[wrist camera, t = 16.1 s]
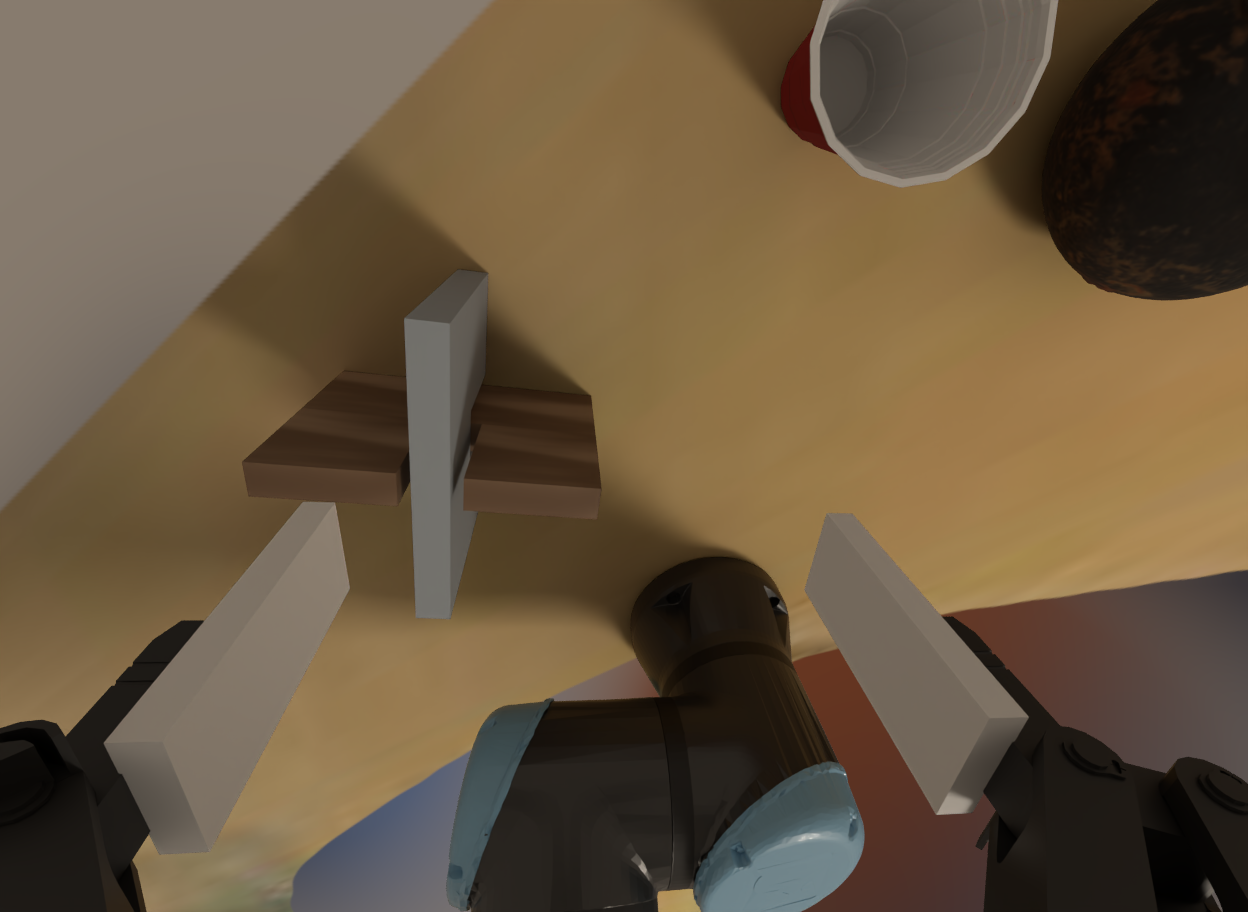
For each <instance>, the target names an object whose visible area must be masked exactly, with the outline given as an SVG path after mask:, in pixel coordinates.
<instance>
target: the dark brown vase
mask: <svg viewBox="0 0 1248 912" xmlns="http://www.w3.org/2000/svg"><path fill="white" fill-rule="evenodd" d="M1042 177H1043V178H1042V202H1043V209H1044V215H1045V219H1046V223H1047V226H1048V229H1049V232H1050V234H1051V237H1052V239H1053V241H1054V244H1055V245H1056V247H1057V249H1058V250H1059V252H1060V253H1061V254H1062V256H1063V257H1064V259H1065V260H1066V261H1067V262H1068V264H1069V265H1071V267H1072V268H1073V269H1075V270H1076V271H1077V272H1078V273H1079V274H1080V275H1081V276H1082V277H1083V279H1084V280H1086V282H1087V283H1089V284H1093V285H1095V286H1097V287H1098V288H1099V289H1102V290H1105V291H1107V292H1114V293H1117V294H1121V295H1125V296H1129V297H1135V298H1141V299H1150V300H1182V299H1194V298H1199V297H1206V296H1211V295H1215V294H1219V293H1223V292H1227V291H1230V290H1234V289H1238V288H1241V287H1244V286H1246V285H1248V0H1158V1H1157V2H1155V3H1154V4H1153V5H1152V6H1151V7H1149V8H1148V9H1147V10H1146V11H1145V12H1143V13H1142V14H1141V15H1140V16H1139V17H1138V18H1137V19H1136V20H1135V21H1133V22H1132V23H1131V24H1130V25H1129V26H1128V27H1127V28H1126V29H1125V30H1124V31H1123V32H1122V33H1121V34H1120V35H1119V37H1118V38H1116V39H1115V40H1114V42H1113V43H1112V44H1111V45H1110V46H1109V47H1108V48H1107V49H1106V50H1105V52H1104V53H1103V54H1102V55H1101V56H1100V57H1099V59H1098V60H1097V61H1096V62H1095V63H1094V64H1093V66H1092V67H1091V69H1090V70H1089V71H1088V73H1087V74H1086V75H1085V77H1084V78H1083V80H1082V81H1081V83H1080V84H1079V86H1078V87H1077V89H1076V90H1075V92H1074V93H1073V95H1072V97H1071V98H1070V100H1069V102H1068V104H1067V106H1066V108H1065V110H1064V111H1063V113H1062V115H1061V117H1060V119H1059V122H1058V124H1057V126H1056V128H1055V131H1054V133H1053V136H1052V139H1051V141H1050V145H1049V147H1048V151H1047V155H1046V159H1045V164H1044V170H1043V176H1042Z"/></svg>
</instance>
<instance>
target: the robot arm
mask: <svg viewBox="0 0 1248 912" xmlns="http://www.w3.org/2000/svg"><path fill="white" fill-rule="evenodd" d="M349 589H350V586H349V580H348V574H347V568H346V563H345V557H344V551H343V545H342V539H341V534H340V528H339V522H338V516H337V510H336V504H335V502H302V504H301V505H300V506H299V507H298V508H297V510H296V511H295V512H294V513H293V514H292V516H291V517H290V518H289V519H288V520H287V522H286V523H285V524H284V525H283V527H282V528H281V529H280V530H279V531H278V533H277V534H276V535H275V536H274V537H273V539H272V540H271V541H270V542H269V543H268V545H267V546H266V547H265V548H264V550H263V551H262V552H261V553H260V554H259V556H258V557H257V558H256V559H255V560H254V562H253V563H252V564H251V565H250V566H249V568H248V569H247V570H246V571H245V573H244V574H243V575H242V576H241V577H240V579H239V580H238V581H237V582H236V583H235V585H234V586H233V587H232V588H231V589H230V591H229V592H228V593H227V594H226V596H225V597H224V598H223V599H222V600H221V602H220V603H219V604H218V605H217V606H216V608H215V609H214V610H213V611H212V612H211V614H210V615H209V616H208V617H207V618H206V620H205V621H180V622H179V623H178V624H176V625H175V626H173V627H172V628H170V629H169V630H167V631H166V632H164V633H163V634H161V635H160V636H158V637H157V638H155V639H154V640H153V641H152V642H151V643H150V644H149V645H148V646H147V647H146V648H145V649H144V651H143V652H142V653H141V654H140V655H139V656H138V657H137V658H136V659H135V660H134V662H133V665H132V667H128V668H127V669H126V670H125V672H124V673H123V674H122V675H121V676H120V677H119V678H118V679H117V680H116V684H115V686H111V687H110V688H109V689H108V690H107V691H106V693H105V694H104V695H103V696H102V697H101V698H100V699H99V700H98V701H97V702H96V704H95V705H94V706H93V707H92V708H91V709H90V710H89V711H88V712H87V714H86V715H85V716H84V717H83V718H82V719H81V720H80V721H79V722H78V723H77V725H76V726H75V727H74V728H73V729H72V730H71V731H70V732H69V733H68V735H67V736H66V737H65V736H64V734H63V732H62V731H61V729H60V728H59V726H58V725H57V724H56V723H52V722H49V721H45V720H35V721H25V722H19V723H15V724H12V725H9V726H6V727H3V728H0V912H146V907H145V903H144V898H143V894H142V889H141V884H140V880H139V875H138V871H137V868H136V866H135V865H134V863H133V861H132V859H133V858H134V856H135V855H136V853H137V852H138V850H139V848H140V847H141V845H142V844H143V842H144V841H145V839H146V838H147V836H148V834H149V835H150V837H151V839H152V841H153V843H154V845H155V847H156V849H157V851H158V853H159V854H179V853H198V852H210V850H211V848H212V846H213V845H214V843H215V841H216V839H217V837H218V835H219V833H220V831H221V830H222V828H223V826H224V824H225V822H226V820H227V818H228V816H229V815H230V813H231V811H232V809H233V807H234V805H235V803H236V801H237V800H238V798H239V796H240V794H241V792H242V790H243V788H244V786H245V785H246V783H247V781H248V779H249V777H250V775H251V773H252V771H253V770H254V768H255V766H256V764H257V762H258V760H259V758H260V756H261V755H262V753H263V751H264V749H265V747H266V745H267V743H268V741H269V740H270V738H271V736H272V734H273V732H274V730H275V728H276V726H277V725H278V723H279V721H280V719H281V717H282V715H283V713H284V711H285V710H286V708H287V706H288V704H289V702H290V700H291V698H292V696H293V695H294V693H295V691H296V689H297V687H298V685H299V683H300V681H301V680H302V678H303V676H304V674H305V672H306V670H307V668H308V666H309V665H310V663H311V661H312V659H313V657H314V655H315V653H316V651H317V649H318V648H319V646H320V644H321V642H322V640H323V638H324V636H325V634H326V633H327V631H328V629H329V627H330V625H331V623H332V621H333V619H334V618H335V616H336V614H337V612H338V610H339V608H340V606H341V604H342V603H343V601H344V599H345V597H346V595H347V593H348V591H349ZM805 592H806V594H807V595H808V597H809V599H810V600H811V602H812V604H813V606H814V607H815V609H816V611H817V612H818V614H819V616H820V618H821V619H822V621H823V623H824V624H825V626H826V628H827V629H828V631H829V633H830V635H831V636H832V638H833V640H834V641H835V643H836V645H837V646H838V648H839V650H840V651H841V653H842V655H843V657H844V658H845V660H846V662H847V663H848V665H849V667H850V668H851V670H852V672H853V674H854V675H855V677H856V679H857V680H858V682H859V684H860V686H861V687H862V689H863V691H864V692H865V694H866V696H867V697H868V699H869V701H870V702H871V704H872V706H873V708H874V709H875V711H876V713H877V715H878V716H879V718H880V719H881V721H882V723H883V725H884V726H885V728H886V730H887V731H888V733H889V735H890V736H891V738H892V740H893V742H894V743H895V745H896V747H897V749H898V750H899V752H900V754H901V755H902V757H903V759H904V760H905V762H906V764H907V766H908V767H909V769H910V771H911V772H912V774H913V776H914V777H915V779H916V781H917V783H918V784H919V786H920V788H921V789H922V791H923V793H924V794H925V796H926V798H927V800H928V801H929V803H930V805H931V806H932V808H933V810H934V812H935V813H936V815H939V814H960V813H972V812H973V810H974V809H975V807H976V805H977V804H978V802H979V800H980V798H981V797H982V795H983V794H985V795H986V796H987V798H988V799H989V801H990V802H991V804H992V805H993V807H994V808H995V810H996V811H995V813H994V815H993V816H992V818H991V819H990V821H989V823H988V824H987V826H986V828H985V829H984V831H983V832H982V834H981V835H980V837H979V839H978V842H977V844H976V847H977V848H979V849H981V850H982V849H983V848H984V846H985V844H986V843H987V842H988V841H989V844H988V858H987V872H986V885H985V899H984V912H1221V910H1220V909H1219V907H1218V905H1217V904H1216V902H1215V900H1214V898H1213V896H1212V893H1213V892H1214V891H1215V893H1216V895H1217V897H1218V899H1219V901H1220V904H1221V907H1222V909H1223V912H1248V784H1247V783H1246V782H1245V781H1244V780H1242V779H1241V778H1239V777H1238V776H1236V775H1235V774H1232V773H1231V772H1229V771H1227V770H1225V769H1224V768H1222V767H1220V766H1217V765H1215V764H1212V763H1210V762H1208V761H1205V760H1202V759H1197V758H1191V757H1185V758H1180V759H1178V760H1177V761H1176V762H1175V763H1174V764H1173V766H1172V767H1171V768H1170V769H1169V771H1168V772H1167V773H1163V772H1159V771H1155V770H1151V769H1147V768H1142V767H1139V766H1135V765H1131V764H1127V763H1124V762H1123V761H1122V760H1121V758H1120V757H1119V756H1118V755H1117V754H1116V753H1115V752H1113V751H1112V750H1111V749H1110V748H1108V747H1107V746H1106V745H1105V744H1103V743H1102V742H1101V741H1099V740H1097V739H1095V738H1094V737H1092V736H1090V735H1088V734H1086V733H1085V732H1082V731H1079V730H1076V729H1073V728H1070V727H1062V726H1060V725H1059V724H1058V723H1057V722H1056V721H1055V720H1054V718H1053V717H1052V716H1051V715H1050V714H1049V713H1048V712H1047V711H1046V710H1045V709H1044V707H1043V706H1042V705H1041V704H1040V703H1039V702H1038V701H1037V700H1036V699H1035V698H1034V697H1033V695H1032V694H1031V693H1030V692H1029V691H1028V690H1027V689H1026V688H1025V687H1024V686H1023V684H1021V682H1020V681H1019V680H1018V679H1017V678H1016V677H1015V676H1014V675H1013V674H1012V672H1010V670H1006V668H1005V665H1004V664H1003V663H1002V661H1000V659H999V658H998V657H997V656H996V655H995V654H992V651H991V649H990V648H989V647H988V646H987V645H986V644H985V643H984V642H983V641H982V640H981V639H980V637H979V636H978V635H977V634H976V633H975V632H974V631H972V630H971V629H969V628H968V627H967V626H965V625H964V624H962V623H961V622H959V621H958V620H957V619H955V618H954V617H942V616H941V615H940V614H939V613H938V612H937V611H936V609H935V608H934V607H933V606H932V605H931V604H930V603H929V601H928V600H927V599H926V598H925V597H924V596H923V595H922V593H921V592H920V591H919V590H918V589H917V588H916V586H915V585H914V584H913V583H912V582H911V581H910V580H909V578H908V577H907V576H906V575H905V574H904V573H903V571H902V570H901V569H900V568H899V567H898V566H897V565H896V563H895V562H894V561H893V560H892V559H891V558H890V557H889V555H888V554H887V553H886V552H885V551H884V550H883V548H882V547H881V546H880V545H879V544H878V543H877V542H876V540H875V539H874V538H873V537H872V536H871V535H870V534H869V532H868V531H867V530H866V529H865V528H864V527H863V525H862V524H861V523H860V522H859V521H858V520H857V519H856V517H855V516H854V515H853V514H845V513H827V514H826V517H825V521H824V524H823V528H822V531H821V535H820V538H819V541H818V545H817V548H816V552H815V555H814V559H813V562H812V566H811V569H810V573H809V576H808V579H807V583H806V586H805ZM630 626H631V635H632V642H633V647H634V651H635V654H636V657H637V659H638V661H639V663H640V664H641V666H642V668H643V669H644V671H645V673H646V674H647V676H648V678H649V680H650V681H651V683H652V684H653V686H654V688H655V690H656V691H657V693H658V695H659V696H660V697H654V698H653V697H647V698H630V699H611V700H582V701H554V699H551V698H549V699H546V700H545V701H544V702H536V703H526V704H516V705H507V706H503V707H500V708H498V709H497V710H495V711H494V712H492V713H491V714H490V715H489V717H488V718H487V719H486V720H485V722H484V723H483V725H482V726H481V728H480V730H479V732H478V735H477V737H476V740H475V742H474V745H473V748H472V751H471V754H470V757H469V761H468V764H467V768H466V771H465V775H464V779H463V783H462V787H461V791H460V796H459V800H458V806H457V810H456V815H455V821H454V826H453V832H452V837H451V844H450V853H449V859H450V863H449V871H448V876H447V885H446V887H447V888H446V889H447V898H448V901H449V904H450V905H451V906H453V907H456V908H458V909H459V910H460V911H468V910H469V909H470V907H471V912H658V902H657V895H658V892H659V891H669V890H681V889H693V894H694V899H695V901H696V904H697V905H698V906H699V907H700V910H701V912H801V911H803V910H805V909H807V908H809V907H810V906H812V905H814V904H816V903H817V902H819V901H820V900H821V899H823V898H824V897H826V896H828V895H829V894H830V893H831V892H832V891H834V890H835V889H836V888H837V887H838V886H840V885H841V884H842V883H843V882H844V880H845V879H846V878H847V877H848V876H849V875H850V874H851V872H852V871H853V869H854V868H855V866H856V864H857V863H858V861H859V859H860V856H861V853H862V849H863V845H864V827H863V822H862V819H861V816H860V813H859V811H858V808H857V806H856V803H855V800H854V798H853V795H852V793H851V790H850V787H849V784H848V782H847V780H848V779H847V775H846V772H845V770H844V768H843V767H842V766H841V765H840V764H839V762H838V760H837V758H836V756H835V754H834V751H833V749H832V747H831V745H830V743H829V741H828V739H827V736H826V735H825V732H824V730H823V728H822V726H821V724H820V722H819V719H818V717H817V715H816V713H815V711H814V709H813V707H812V705H811V703H810V700H809V698H808V696H807V694H806V692H805V690H804V688H803V685H802V683H801V681H800V679H799V677H798V675H797V673H796V671H795V669H794V666H793V664H792V660H791V645H790V629H789V616H788V611H787V607H786V604H785V602H784V600H783V598H782V596H781V594H780V592H779V590H778V588H777V586H776V584H775V583H774V581H773V580H772V579H771V577H770V576H769V575H768V574H767V573H765V572H764V571H763V570H761V569H760V568H758V567H757V566H755V565H753V564H751V563H748V562H745V561H742V560H738V559H733V558H724V557H712V558H703V559H697V560H693V561H689V562H686V563H683V564H681V565H678V566H676V567H674V568H672V569H670V570H668V571H666V572H665V573H663V574H661V575H660V576H659V577H657V578H656V579H655V580H654V581H652V582H651V583H650V584H649V585H648V586H647V587H646V588H645V590H644V591H643V592H642V593H641V595H640V596H639V598H638V599H637V601H636V603H635V605H634V608H633V611H632V615H631V623H630Z"/></svg>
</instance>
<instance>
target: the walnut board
mask: <svg viewBox="0 0 1248 912" xmlns="http://www.w3.org/2000/svg"><path fill="white" fill-rule="evenodd" d="M470 451H473V452H472V455H471V458H470V461H469V464H468V467H467V470H466V473H465V476H464V496H463V511H478V512H493V513H508V514H523V515H538V516H553V517H568V518H583V519H597V516H598V509H599V502H600V495H601V481H600V472H599V463H598V454H597V445H596V436H595V427H594V418H593V409H592V400H591V396H588V395H578V394H569V393H559V392H549V391H539V390H529V389H519V388H509V387H499V386H489V385H481V387H480V389H479V392H478V394H477V397H476V399H475V402H474V405H473V407H472V410H471V433H470ZM242 465H243V470H244V475H245V480H246V485H247V491H248V496H252V497H267V498H282V499H297V500H312V501H327V502H342V503H357V504H372V505H387V506H398V504H399V502H400V500H401V498H402V496H403V494H404V492H405V491H406V489H407V487H408V485H409V483H410V455H409V430H408V404H407V379H406V377H399V376H389V375H379V374H369V373H359V372H349V371H343V372H342V373H340V374H339V375H338V376H337V377H336V378H335V379H334V380H333V381H332V382H330V383H329V384H328V385H327V386H326V387H325V388H324V389H323V390H322V391H320V392H319V393H318V394H317V395H316V396H315V397H314V398H313V399H312V400H310V401H309V402H308V403H307V404H306V405H305V406H304V407H303V408H302V409H300V410H299V411H298V412H297V413H296V414H295V415H294V416H293V417H291V418H290V419H289V420H288V421H287V422H286V423H285V424H284V425H283V426H281V427H280V428H279V429H278V430H277V431H276V432H275V433H274V434H273V435H271V436H270V437H269V438H268V439H267V440H266V441H265V442H264V443H263V444H261V445H260V446H259V447H258V448H257V449H256V450H255V451H254V452H253V453H251V454H250V455H249V456H248V457H247V458H246V459H245V460H244V461H243V462H242Z"/></svg>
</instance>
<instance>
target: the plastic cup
mask: <svg viewBox="0 0 1248 912" xmlns="http://www.w3.org/2000/svg"><path fill="white" fill-rule="evenodd" d="M1057 6H1058V0H823V3H822V6H821V9H820V12H819V16H818V19H817V22H816V25H815V26H814V27H813V29H812V30H811V32H810V33H809V34H808V36H807V37H806V39H805V40H804V41H803V42H802V44H801V45H800V47H799V48H798V49H797V51H796V52H795V54H794V55H793V56H792V58H791V59H790V61H789V62H788V66H787V69H786V72H785V75H784V78H783V82H782V85H781V108H782V111H783V113H784V116H785V118H786V121H787V124H788V125H789V127H790V128H791V129H792V130H793V131H794V132H795V133H796V134H797V135H798V136H799V137H800V138H801V139H802V140H804V141H807V142H810V143H812V144H813V145H814V146H816V147H818V148H821V149H824V150H827V151H829V152H832V153H835V154H837V155H839V156H840V157H841V158H842V159H843V160H844V161H845V162H846V163H847V164H848V165H849V166H850V167H851V168H852V169H853V170H854V171H855V172H857V173H858V174H859V175H860V176H863V177H866V178H870V179H873V180H876V181H880V182H883V183H887V184H890V185H893V186H897V187H900V188H902V187H908V186H914V185H920V184H926V183H932V182H938V181H944V180H946V179H948V178H950V177H951V176H953V175H955V174H956V173H958V172H960V171H961V170H963V169H965V168H966V167H968V166H970V165H971V164H973V163H975V162H976V161H978V160H980V159H981V158H983V157H985V156H986V155H988V154H989V153H990V152H991V151H992V150H993V148H994V147H995V146H996V145H997V144H998V143H999V142H1000V140H1001V139H1002V138H1003V137H1004V136H1005V135H1006V134H1007V132H1008V131H1009V130H1010V129H1011V128H1012V127H1013V125H1014V124H1015V123H1016V122H1017V121H1018V120H1019V119H1020V117H1021V116H1022V115H1023V114H1024V113H1025V111H1026V109H1027V107H1028V105H1029V103H1030V101H1031V98H1032V96H1033V94H1034V92H1035V90H1036V88H1037V85H1038V83H1039V81H1040V79H1041V77H1042V75H1043V72H1044V70H1045V68H1046V66H1047V64H1048V62H1049V59H1050V56H1051V49H1052V42H1053V35H1054V28H1055V20H1056V13H1057Z"/></svg>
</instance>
